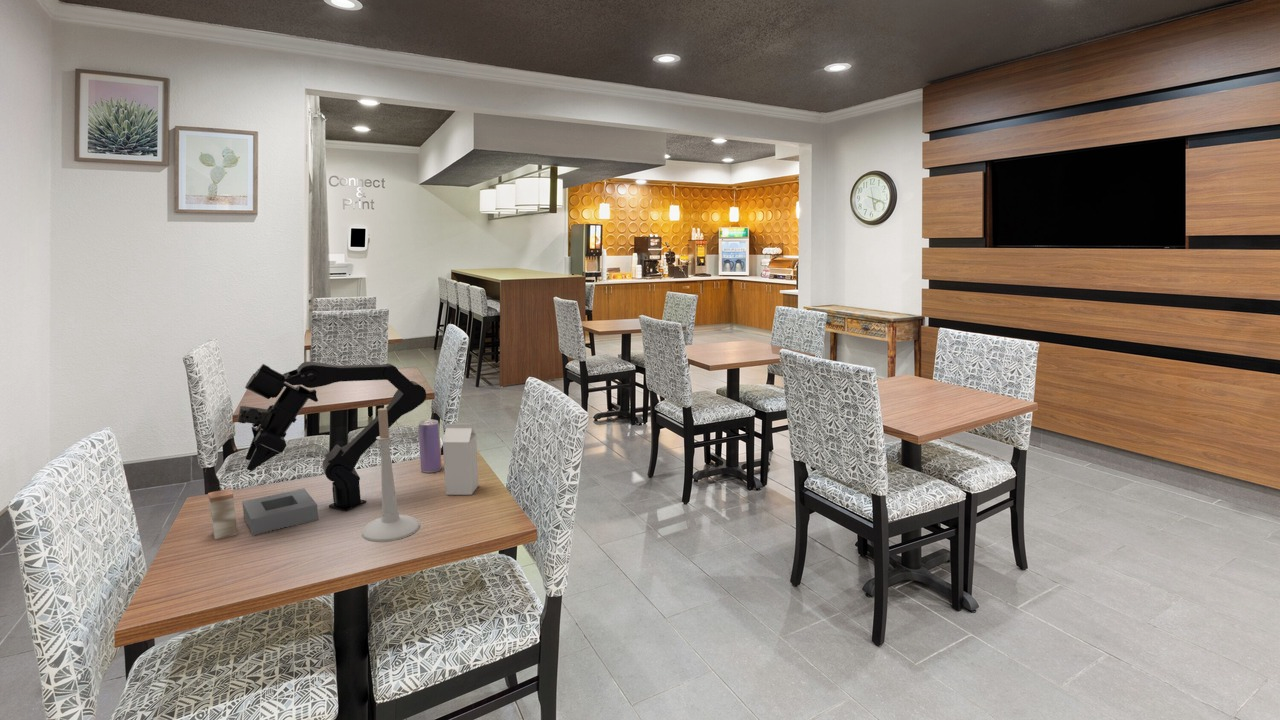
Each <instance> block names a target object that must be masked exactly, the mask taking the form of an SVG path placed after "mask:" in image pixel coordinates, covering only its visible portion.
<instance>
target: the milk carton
mask: <svg viewBox="0 0 1280 720" xmlns="http://www.w3.org/2000/svg"><path fill="white" fill-rule="evenodd" d="M442 450H443V452H442V453H443V468H444V469H443V470H444V488H445V495H446V496H447V495H448V496H455V495H456V496H460V495H461V496H471V495H473V493H474V492H475V491H476V489H478V487H479V469H478V468H479V467H478V447H477V433H476V432H475V430H474V428H473V424H472V423H446V424H445V431H444V434H443V439H442Z"/></svg>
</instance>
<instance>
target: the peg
mask: <svg viewBox="0 0 1280 720" xmlns="http://www.w3.org/2000/svg"><path fill="white" fill-rule="evenodd" d="M207 495H208V503H209V511H210V519H211V521H210V522H211V527H212V534H213V537H214V539H215V540H220V539H221V540H222V539H224V538H228V537H234V536H237V535H238V527H237V518H236V508H235V507H236V506H235V500H234V493H233V491H232V489H231V488H226V489H221V490H216V491H215V490H214V491H210V492H208V493H207Z"/></svg>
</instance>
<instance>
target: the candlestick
mask: <svg viewBox="0 0 1280 720" xmlns="http://www.w3.org/2000/svg"><path fill="white" fill-rule="evenodd" d="M377 416H378V419H379V432H380V436H378V437H376V439H377V440H378V445H379V446H380V449H381V451H380V460H381V466H380V467H381V468H380V471H381V517H378V518H376V519H373V520H372V521H369V523H367V524H366V525H365V526H364V527H362V530H361V536H362V538H364V540H367V541H369V542H374V541H388V542H394V541H399V540H401V538H402V539H406V538H408V537H410V536H412V535H413V533H414V534H415V533H417V532H418V531H419V530H420V524H421V523H420V521H419V519H417V518H415V517H413V516H410V515H407V514H399V509H398V503H397V502H398V501H397V495H396V489H395V487H396V486H395V479H394V471H393V463H392V457H391V450H390V445H391V444H392V439H393V437H394V436H393V434H390V432H389V431H390V430H389V429H388V415H387V408H386V407H380V408H378V409H377ZM409 535H410V536H409ZM407 536H408V537H407ZM398 539H399V540H398ZM393 540H394V541H393Z"/></svg>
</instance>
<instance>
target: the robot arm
mask: <svg viewBox="0 0 1280 720" xmlns="http://www.w3.org/2000/svg"><path fill="white" fill-rule="evenodd" d="M360 381H361V382H362V381H363V382H364V381H366V382H367V381H388V382H389V383H390V384H391V385H393V387H394V388H396V389H397V390H396V391H395V393H394V395H392V397H391V400H390V402H389V404H387V406H386V407H385V408H387V415H388V429H389V428H391V427H392V426H393V425H394V424H395V423H396V422H397V421H398V420H399V419H400V418H401V417H402V416H404V415H406V414H408V413H410V412H412V411H413V410H415V409H416V408H418V407H419V406H421V405H422V404H423V403H424V402H425V401H426V400H427V399H426V398H427V392H426V389H425V387H423V386H422V385H420V384H419V383H417V382H416V381H413V380H410V379H408V378H407V377H406V376H405V375H404V374H403V373H402V372H401V371H399V369H398V368H397V367H396V366H395V365H394V364H392V363H384V364H357V365H356V364H355V365H354V364H352V365H351V364H350V365H349V364H348V365H334V364H329V363H324V362H317V361H304V362H302V363H301V364H300V365H299V366H298V367H297V368H296V369H293V370H290V371H287V372H284V373H283V374H282V373H281V372H278V371H277V370H275V369H273V368H271V367H270V366H268V365H266V364H264V363H263V364H261V365H260V367H259V368H258V369H257V370H256V371H255V373H253V374H252V375H251V376H250V378H249V379H248V381H247V383H246V385H245V386H244V388H245V389H246V390H248V391H249V392H250V391H251V392H253V394H254V393H255V395H256V394H257V395H258V396H260V397H262V398H264V399H266V400H270V399H271V398H272V399H274V398H275V399H276V400H275V402H274V404H271V405H269V406H268V408H260V407H254V406H253V407H252V406H246V405H241V406H240V407H239V411H238V415H237V419H236V420H237V423H240V424H252V426H251V431H252V434H253V438H252V441H250V442H251V443H250V445H249V448H248V450H247V453H246V456H245V460H247V461H249V463H248V464H247V467H246V470H247V471H250V472H252V471H253V470H255V469H256V468H258V467H260V466H261V465H263V464H264V463H266V462H267V461H269V460H270V459H272V458H273V457H275V456H277V455H280V454H281V453H283V452H284V451H285V449H286V447H287V443H286V439H285V438H286V436H287V431H288V429H290V427H291V425H292V424H293V423H294V424H295V423H296V421H297V416H298V415H299V414H300V412H301V410H302V409H303V407H304V406H305V405H306V403H307V402H308V400H311V401H313V402H315V403H317V402H318V401H319V399H318V397H317V390H316V389H315V388H319V387H324V386H329V385H331V384H335V383H339V382H340V383H341V382H360ZM284 387H285V388H284ZM308 388H310V389H308ZM313 388H314V389H313ZM283 389H284V390H283ZM277 397H278V398H277ZM378 436H380V432H379V419H378V415H377V416H376V417H374V419H372V420H371V421H370V422H369V423H368V424H367V425H366V426H365V427H364V428H363V429H362V430H361V431H360V432H359V433H358V434H357V435H356V436H355V437H354V438H353V439H352V440H351V441H349V442H348V443H347V444H345V445H343V446H340V445H339V444H338V443H337V444H335V445H334V447H333V448H332V449H331V450H330V451H329V452H327V453H326V454H324V457H325V458H324V459H323V461H322V465H321V466H322V471H323V472H324V476H325V477H326V479H328V480H329V481H331V482H332V488H331V489H332V500H333V503H331V504H329V505H328V507H329V508H331V509H336V510H340V511H345V512H346V511H349V510H351V509H354V508H356V507H358V506H361V505H364V504H366V503H367V500H365V499H362V498H361V488H360V487H361V486H360V480H361V477H360V476H359V474H358V472H357V471H356V469H355V468H356V465H358V462H359V460H360V458H361V456H362V455H363V454H364V453H365V452H366V451H367V450H368V449H369V448H370V447H372V445H373V444H375V443H376V442H377V440H378V439H376V437H378Z"/></svg>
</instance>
